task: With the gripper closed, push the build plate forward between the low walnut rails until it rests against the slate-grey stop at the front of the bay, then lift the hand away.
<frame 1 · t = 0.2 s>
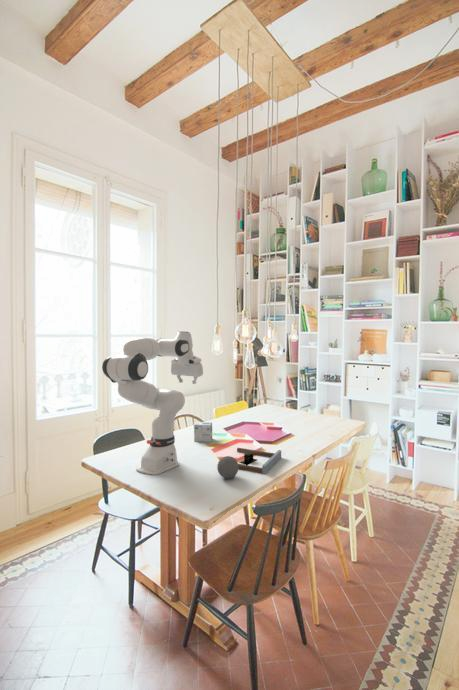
hand: (187, 383, 211), 39 cm above the table, tool pointing down, fingers open, 8 cm apart
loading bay: (249, 461, 193), on the table
decorative ball: (228, 478, 173), on the table
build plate: (248, 462, 193), on the table
light bulb box: (203, 440, 229), on the table
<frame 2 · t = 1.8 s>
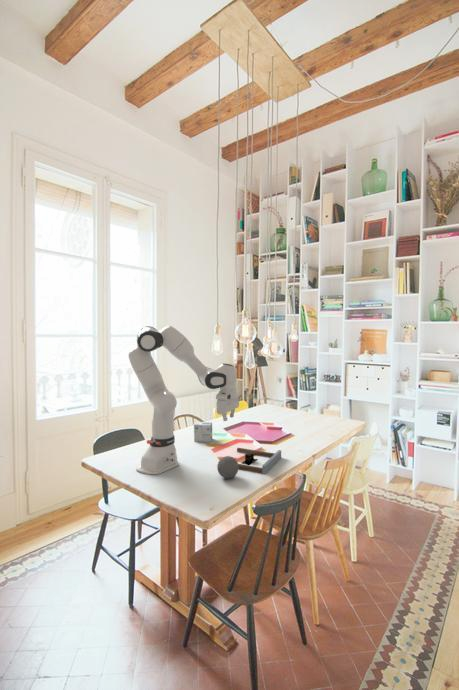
hand: (228, 419, 197), 21 cm above the table, tool pointing down, fingers open, 6 cm apart
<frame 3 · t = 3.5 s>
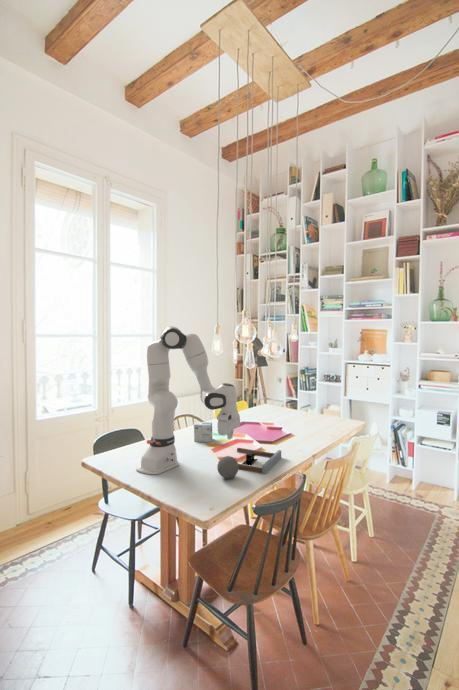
hand: (230, 438, 198), 11 cm above the table, tool pointing down, fingers closed
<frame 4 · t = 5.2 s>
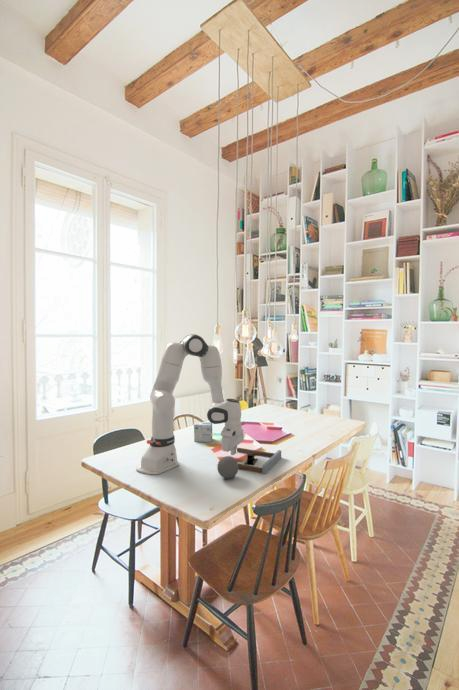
hand: (233, 454, 197), 2 cm above the table, tool pointing down, fingers closed
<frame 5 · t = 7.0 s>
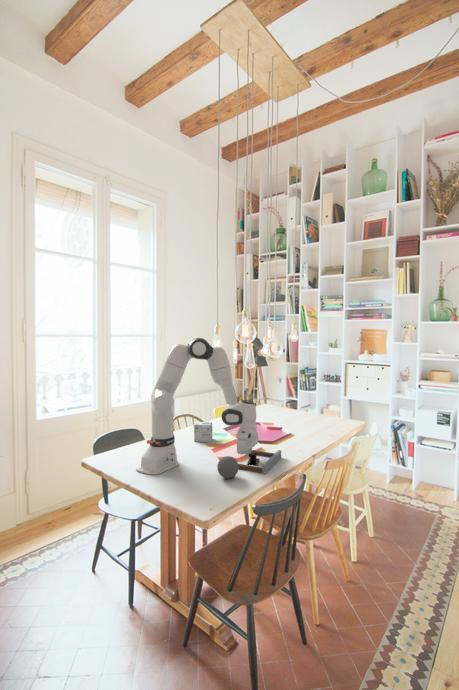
hand: (248, 457, 193), 2 cm above the table, tool pointing down, fingers closed
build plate: (253, 463, 192), on the table, touching gripper
everything else where it was.
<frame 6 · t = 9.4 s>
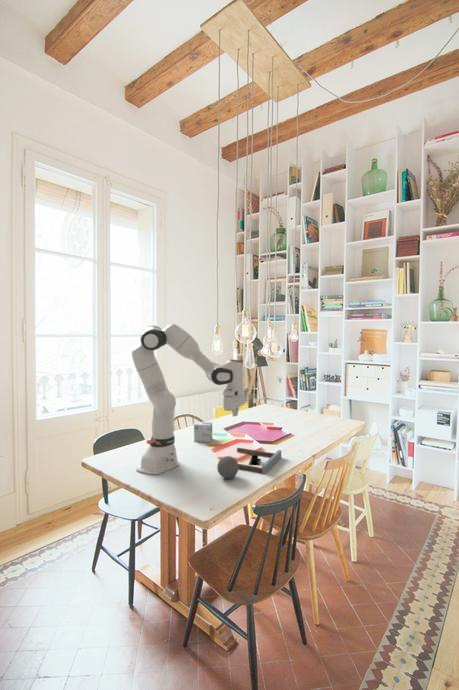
hand: (235, 415, 195), 23 cm above the table, tool pointing down, fingers closed
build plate: (254, 463, 192), on the table
everything else where it was.
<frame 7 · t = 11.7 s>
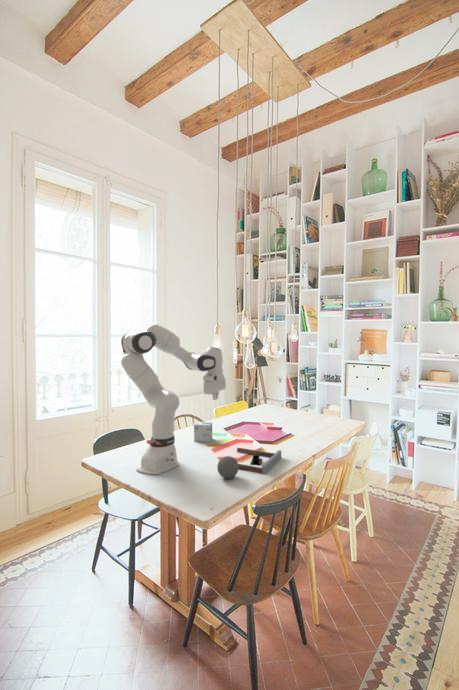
hand: (215, 399, 211), 29 cm above the table, tool pointing down, fingers closed
nothing on the table moved.
at the end: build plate inside the target area (3.4 cm from its centre), on the table; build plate moved 4.2 cm from its start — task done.
